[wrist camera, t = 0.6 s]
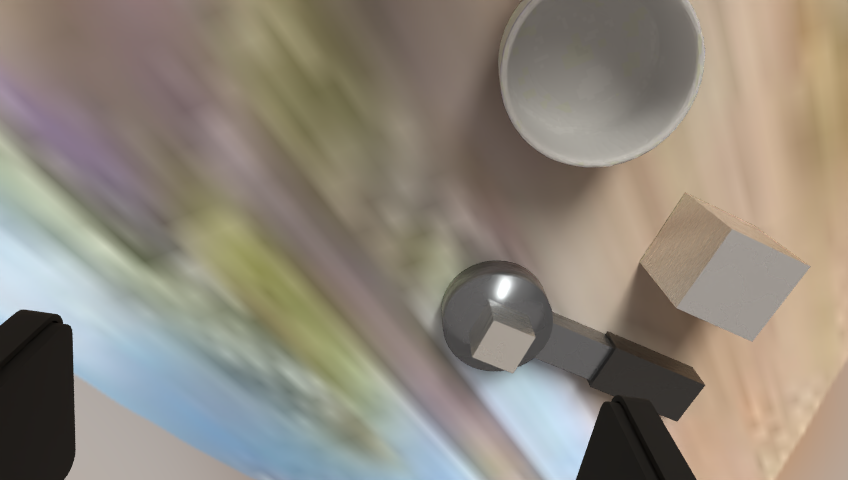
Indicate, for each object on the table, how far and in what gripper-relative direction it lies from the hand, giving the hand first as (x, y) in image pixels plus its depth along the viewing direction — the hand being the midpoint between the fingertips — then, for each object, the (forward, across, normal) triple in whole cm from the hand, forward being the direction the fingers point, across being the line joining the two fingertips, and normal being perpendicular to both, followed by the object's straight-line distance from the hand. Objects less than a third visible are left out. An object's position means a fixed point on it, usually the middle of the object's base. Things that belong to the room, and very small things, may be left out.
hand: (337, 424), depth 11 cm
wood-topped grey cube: (+33, -24, +6) cm, 41 cm away
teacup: (+33, -11, -7) cm, 35 cm away
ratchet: (+33, -17, +16) cm, 40 cm away
